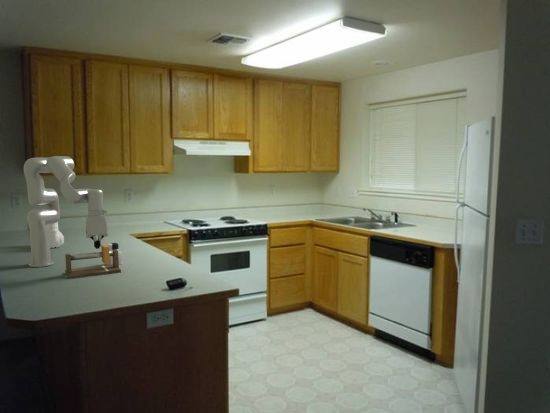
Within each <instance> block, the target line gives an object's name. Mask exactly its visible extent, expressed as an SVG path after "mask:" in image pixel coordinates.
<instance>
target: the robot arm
mask: <svg viewBox="0 0 550 413" xmlns="http://www.w3.org/2000/svg"><path fill="white" fill-rule="evenodd" d="M74 169H75V162H74V159H72V158H71V157H70V156H68V155H67V156H65V155H64V156H63V155H62V156H61V155H54V156H49V157H42V156H39V157H32V158H28V159H27V160H26V161H25V162H24V165H23V174H24V177H25V181H26V190H27V198H28V200H27V201H28V203H29V205H30V206H33V207H41V208H34V209H32V210H30V211H29V212H28V213H27V215H26V220H27V224H28V228H29V237H30V239H29V240H30V253H31V255H30V256H31V262H29V263H28V267H30V268H41V267H42V268H43V267H49V266H52V265H54V264H55V262H54V261H53V260H52V257H51V248H50V238H49V231H48V229H47V228H46V226H45V225H48V224H54V223H57V222H58V223H59V221H60V220H61V219H60V218H61V210H60V198H59V194H58V193H57V191H56V190H55V189H54V188H46V187H45V180H44V179H43V177H42V175H41V174H51V173H52V174H53V175H54V177H56V179H57V180H58V181H59V182H60V185H59V186H60V192H61V194H62V195H63V198H65V199H66V200H67V202H69V203H71V204H73V205H79V204H80V205H81V204H87V213H88V214H87V215H86V219H85V238H86V239H91V240H93V247H94V248H95V249H96V250H98V249H100V247H101V245H102V243H101V241H102V240H103V239H104V238H107V237H108V236H109V235H108V223H107V218H106V215H105V214H107V212H108V211H107V210H105V208H104V191H103V190H102V189H100V188H99V189H97V188H94V189H93V188H77V189H76V188H74V187H73V186H72V185H71V183H73V181H74V180H75V179H76V172H74V171H73V170H74ZM43 206H45V207H43ZM96 236H97V237H96Z"/></svg>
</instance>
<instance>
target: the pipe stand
mask: <svg viewBox="0 0 550 413" xmlns="http://www.w3.org/2000/svg"><path fill="white" fill-rule="evenodd" d="M118 251H119V250H112V251H109V254H110V257H111V256H113V264H112V265H105V264H104V265H95V266H88V267H85V266H84V267H78V268H72V261H81V260H89V259H97V258H98V259H99V258H100V259H102V257H103V258H104V251H103V252H102V251H94V252H85V253H74V254H70V253H66V254H65V255H64V256H65V270H64V272H65V275H66V277H67V278H68V279H69V280H71V279H77V278H78V279H79V278H86V277H94V276H96V277H97V276H102V275H111V274H119V273H120V274H121V273H122V270H121V268H120V265H119V259H118Z"/></svg>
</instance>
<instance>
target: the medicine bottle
mask: <svg viewBox="0 0 550 413" xmlns="http://www.w3.org/2000/svg"><path fill="white" fill-rule="evenodd" d="M106 245H108V246H109V251H112V250H118V259H119V266H120V265H123V252H122V251H119V250H120V249H119V243H118V242H109V243H107V244H106ZM112 264H113V256H111V257H110V264H104V265H112Z"/></svg>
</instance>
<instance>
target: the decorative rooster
mask: <svg viewBox="0 0 550 413" xmlns="http://www.w3.org/2000/svg"><path fill="white" fill-rule="evenodd" d="M45 226H46V228H47V229H48V231H49V238H50V249H56V248H60V247H61V246H63V245H64V242H65V236H64V235H63V233H62V232H61V231H60V229H59V221H58V222H57V223H54V224H48V225H45ZM55 247H56V248H55Z"/></svg>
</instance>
